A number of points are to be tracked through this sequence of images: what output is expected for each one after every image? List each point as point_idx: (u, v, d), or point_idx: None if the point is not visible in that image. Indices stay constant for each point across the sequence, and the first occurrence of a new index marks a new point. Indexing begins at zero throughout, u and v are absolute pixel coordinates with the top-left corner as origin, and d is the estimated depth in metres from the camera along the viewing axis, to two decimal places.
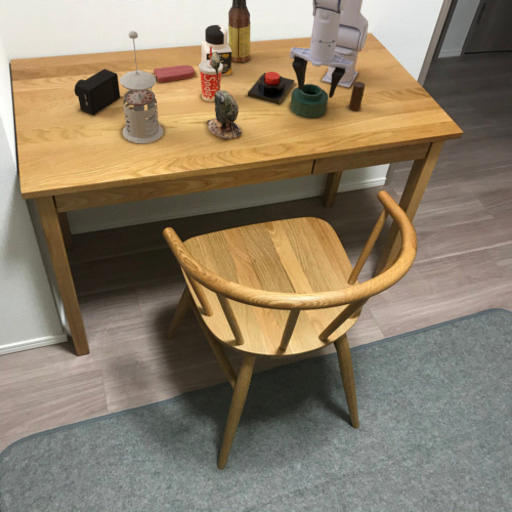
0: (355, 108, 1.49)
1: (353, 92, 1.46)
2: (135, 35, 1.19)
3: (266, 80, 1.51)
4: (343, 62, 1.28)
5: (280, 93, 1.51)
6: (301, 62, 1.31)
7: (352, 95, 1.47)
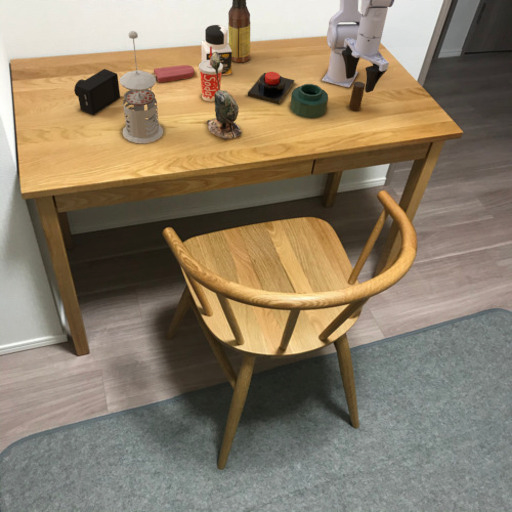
0: (355, 108, 1.49)
1: (353, 92, 1.46)
2: (135, 35, 1.19)
3: (266, 80, 1.51)
4: (380, 60, 1.36)
5: (280, 93, 1.51)
6: (350, 52, 1.42)
7: (352, 95, 1.47)
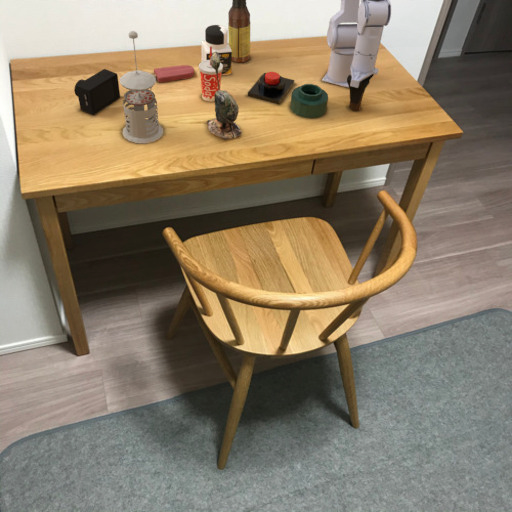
0: (355, 108, 1.49)
1: None
2: (135, 35, 1.19)
3: (266, 80, 1.51)
4: None
5: (280, 93, 1.51)
6: (363, 79, 1.42)
7: None
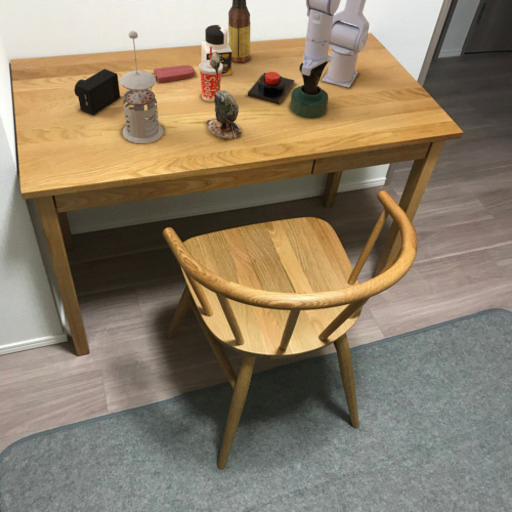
0: None
1: None
2: (135, 35, 1.19)
3: (266, 80, 1.51)
4: None
5: (280, 93, 1.51)
6: (316, 67, 1.38)
7: None
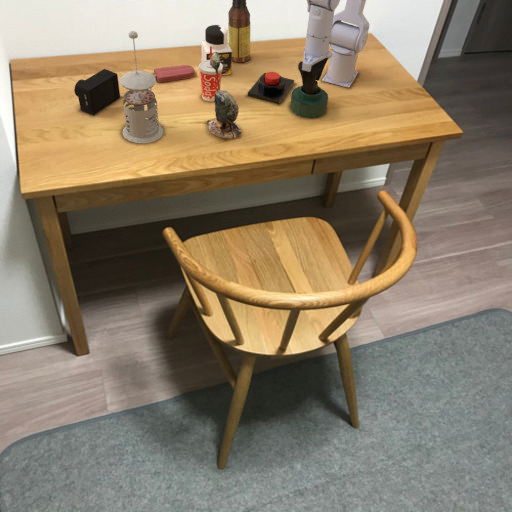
0: None
1: None
2: (135, 35, 1.19)
3: (266, 80, 1.51)
4: None
5: (280, 93, 1.51)
6: (314, 66, 1.36)
7: (305, 93, 1.45)
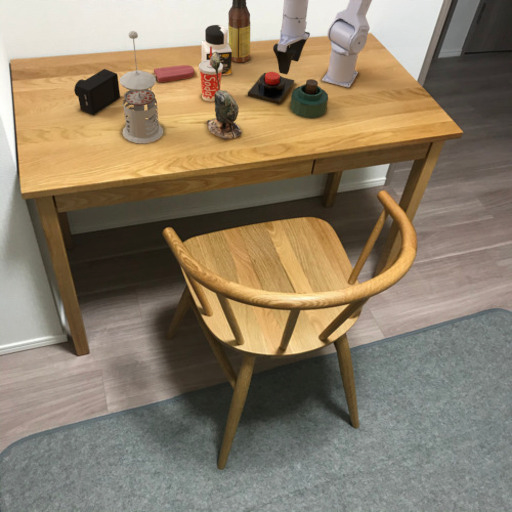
0: None
1: (306, 90, 1.44)
2: (135, 35, 1.19)
3: (266, 80, 1.51)
4: None
5: (280, 93, 1.51)
6: (289, 48, 1.37)
7: (305, 93, 1.45)
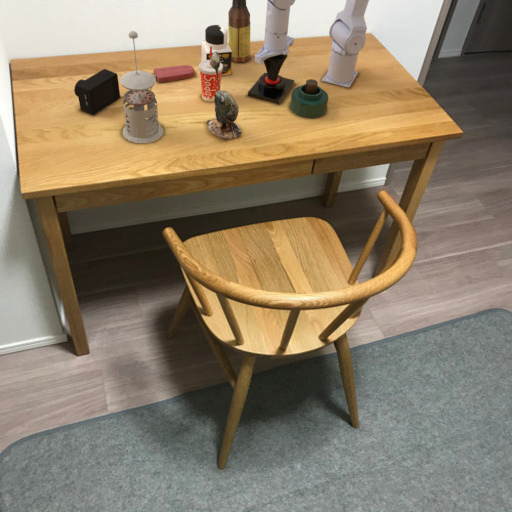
0: None
1: (306, 90, 1.44)
2: (135, 35, 1.19)
3: None
4: (287, 40, 1.48)
5: (280, 93, 1.51)
6: (276, 56, 1.46)
7: (305, 93, 1.45)
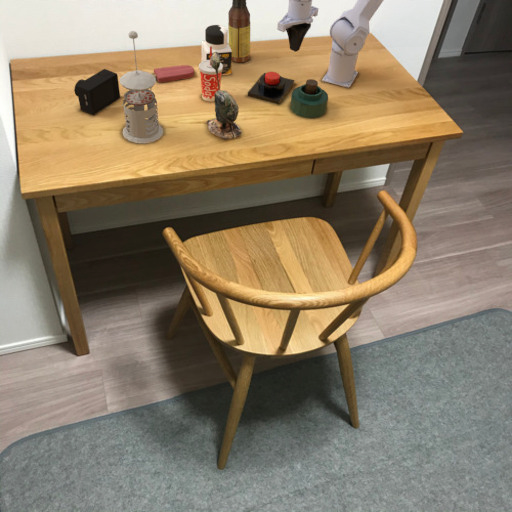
0: None
1: (306, 90, 1.44)
2: (135, 35, 1.19)
3: (266, 80, 1.51)
4: (311, 10, 1.45)
5: (280, 93, 1.51)
6: (299, 25, 1.43)
7: (305, 93, 1.45)
